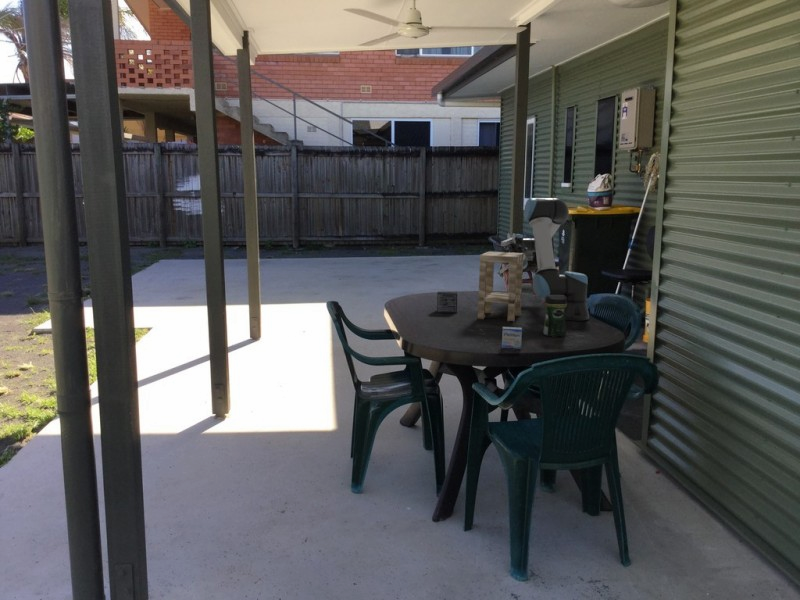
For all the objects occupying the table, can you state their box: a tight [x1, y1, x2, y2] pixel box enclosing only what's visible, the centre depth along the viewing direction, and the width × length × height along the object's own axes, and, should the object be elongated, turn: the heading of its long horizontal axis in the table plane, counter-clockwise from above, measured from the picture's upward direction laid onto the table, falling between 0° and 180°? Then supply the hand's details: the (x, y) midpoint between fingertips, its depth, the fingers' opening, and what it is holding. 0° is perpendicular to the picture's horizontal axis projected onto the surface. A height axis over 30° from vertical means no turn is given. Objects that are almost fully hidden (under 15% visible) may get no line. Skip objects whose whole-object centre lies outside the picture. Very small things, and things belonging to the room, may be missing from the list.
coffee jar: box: [542, 295, 567, 338], centre depth 298 cm, size 10×8×19 cm
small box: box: [436, 291, 458, 314], centre depth 348 cm, size 11×6×10 cm, turn 84°
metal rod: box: [500, 238, 514, 247], centre depth 344 cm, size 26×2×2 cm, turn 159°
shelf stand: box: [477, 251, 524, 323], centre depth 335 cm, size 18×18×32 cm
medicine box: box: [501, 326, 523, 350], centre depth 276 cm, size 8×4×9 cm, turn 81°
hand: (510, 235), depth 348 cm, fingers closed on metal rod, 2 cm apart
